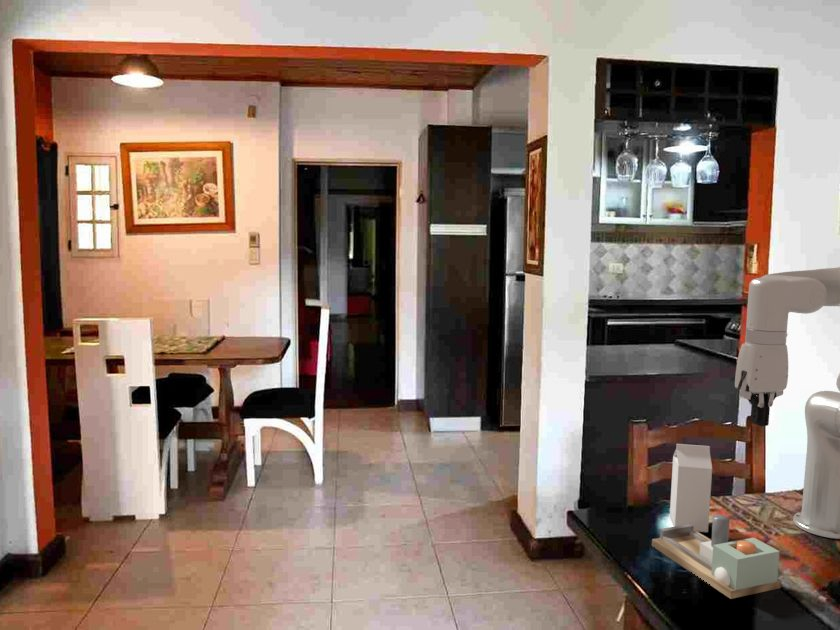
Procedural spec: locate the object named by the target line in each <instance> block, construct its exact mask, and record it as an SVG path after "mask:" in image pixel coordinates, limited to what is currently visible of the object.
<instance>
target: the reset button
mask: <svg viewBox="0 0 840 630" xmlns="http://www.w3.org/2000/svg"><path fill="white" fill-rule="evenodd" d="M737 550H738V551H740V552H742V553H743V554H745V555H750V554H755V550H756V546H755V544H753V543H751V542H748V541H738V542H737Z"/></svg>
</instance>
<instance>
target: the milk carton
mask: <svg viewBox="0 0 840 630" xmlns="http://www.w3.org/2000/svg"><path fill="white" fill-rule="evenodd" d="M671 469H672V470H671V486H670V487H671V488H670V504H669V505H670V506H669V507H670V508H669V518H670V521H671V523H672V525H673V526H672V527H675V526H681V525H687V524H691V525H693V526H694V527H693V531H694V532H699V533H709V523H710V521H709V520H710V507H711V491H712V475H713V464H712V457H711V446H709V445H696V444H686V443H685V444H683V443H676V448H675V450H674V452H673V455H672V468H671Z"/></svg>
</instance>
